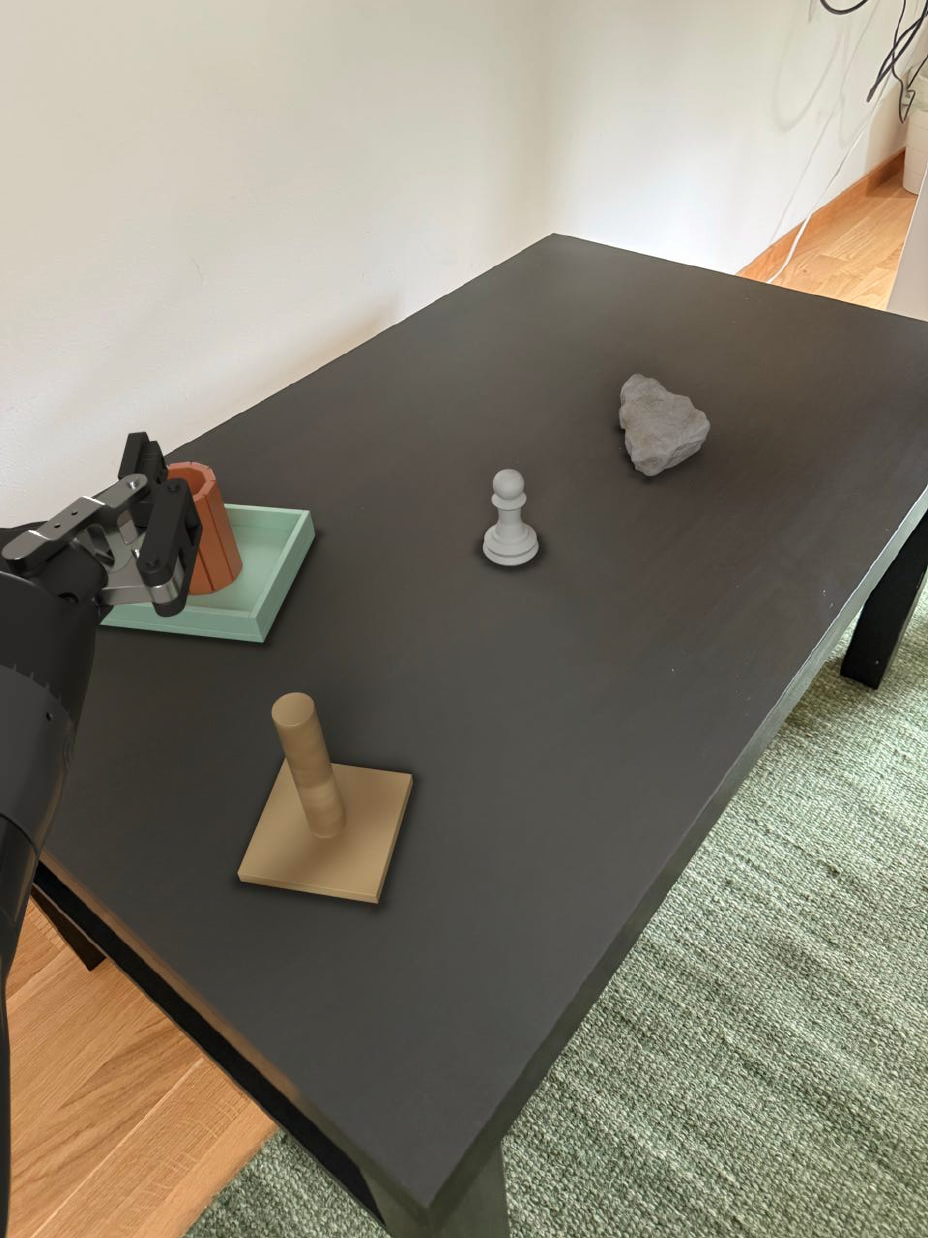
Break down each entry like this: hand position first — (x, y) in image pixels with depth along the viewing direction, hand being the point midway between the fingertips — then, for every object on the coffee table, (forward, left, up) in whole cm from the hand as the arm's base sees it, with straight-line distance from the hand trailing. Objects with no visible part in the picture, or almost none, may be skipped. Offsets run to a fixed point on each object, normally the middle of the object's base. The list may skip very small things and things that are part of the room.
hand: (51, 458), depth 43 cm
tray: (-9, +21, -28) cm, 36 cm away
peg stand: (+9, -1, -28) cm, 29 cm away
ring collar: (-9, +21, -27) cm, 36 cm away
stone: (+27, +44, -28) cm, 59 cm away
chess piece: (+16, +28, -28) cm, 43 cm away
